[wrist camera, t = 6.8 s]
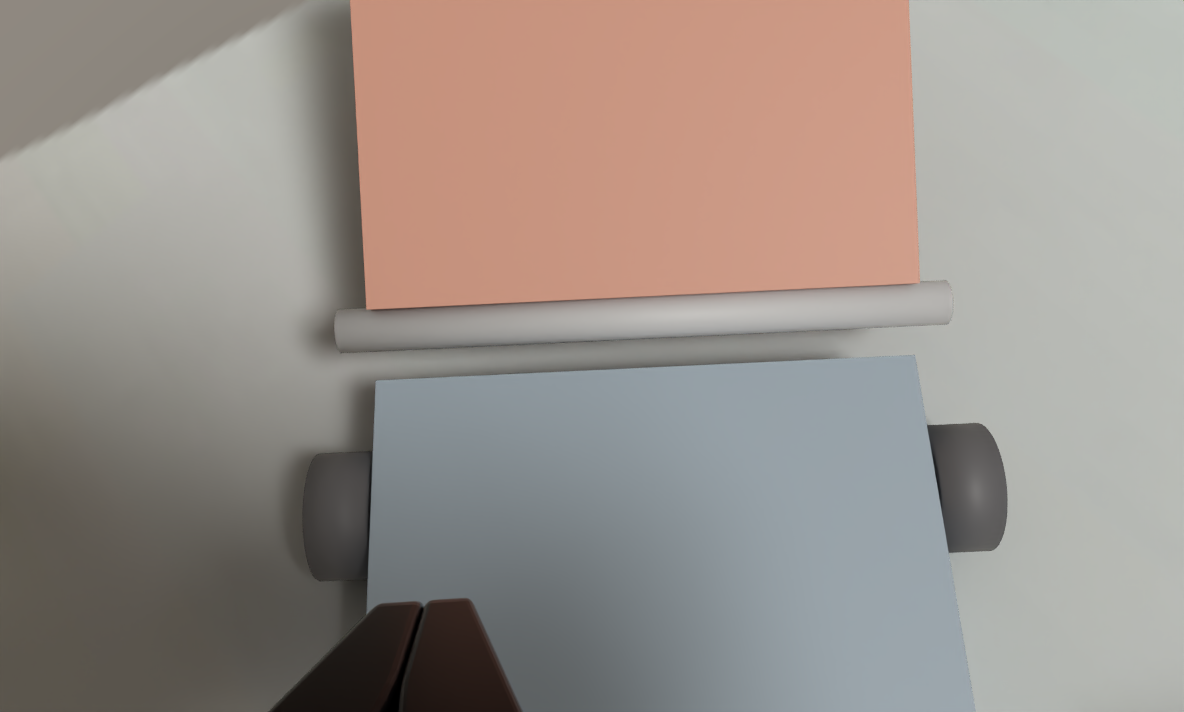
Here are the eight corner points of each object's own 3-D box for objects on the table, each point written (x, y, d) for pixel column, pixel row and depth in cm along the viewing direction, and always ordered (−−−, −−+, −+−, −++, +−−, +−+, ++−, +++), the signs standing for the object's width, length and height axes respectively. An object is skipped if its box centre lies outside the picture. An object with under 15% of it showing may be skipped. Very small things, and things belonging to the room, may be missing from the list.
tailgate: (957, 324, 20) (937, -158, 20) (333, 353, 20) (308, -125, 20) (936, 324, 21) (918, -130, 21) (348, 352, 21) (324, -99, 21)
